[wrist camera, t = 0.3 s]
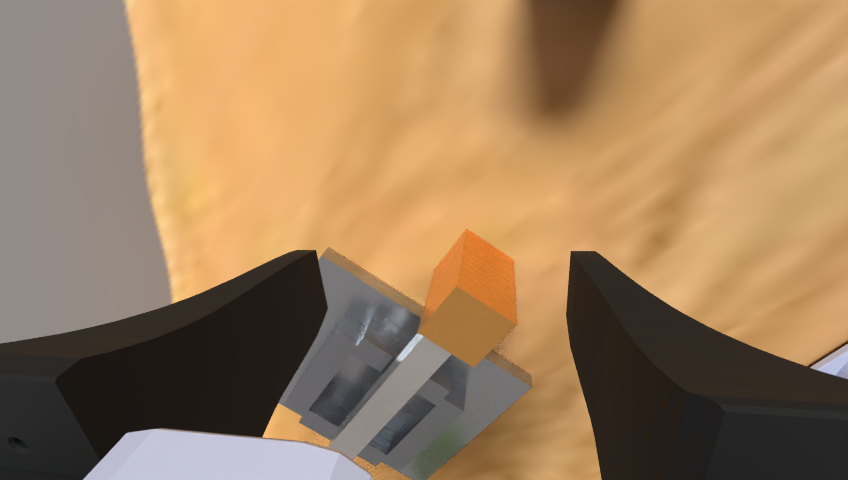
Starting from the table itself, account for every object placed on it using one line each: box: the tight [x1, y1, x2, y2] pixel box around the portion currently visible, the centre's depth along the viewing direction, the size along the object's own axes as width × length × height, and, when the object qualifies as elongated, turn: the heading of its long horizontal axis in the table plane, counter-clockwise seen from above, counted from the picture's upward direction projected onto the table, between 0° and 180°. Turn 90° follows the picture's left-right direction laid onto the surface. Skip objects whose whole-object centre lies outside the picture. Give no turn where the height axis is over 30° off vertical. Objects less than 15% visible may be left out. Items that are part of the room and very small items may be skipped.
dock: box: [278, 247, 532, 480], centre depth 26 cm, size 14×12×3 cm
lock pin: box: [328, 229, 517, 460], centre depth 23 cm, size 3×14×6 cm, turn 147°
